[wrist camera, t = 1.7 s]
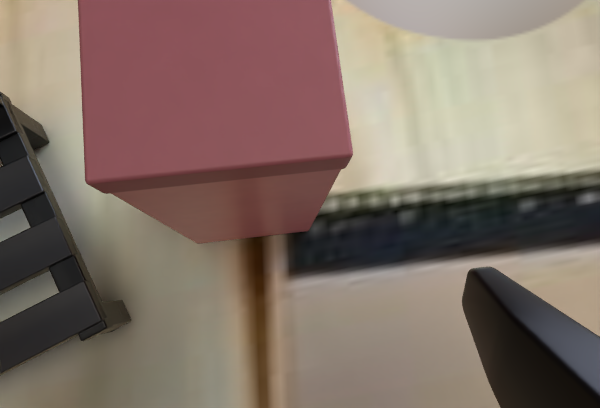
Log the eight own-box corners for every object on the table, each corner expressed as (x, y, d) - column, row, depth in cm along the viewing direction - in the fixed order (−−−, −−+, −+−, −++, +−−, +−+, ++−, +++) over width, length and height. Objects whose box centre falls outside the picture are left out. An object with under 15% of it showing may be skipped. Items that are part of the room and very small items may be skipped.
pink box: (310, 232, 21) (354, 156, 9) (195, 245, 20) (83, 184, 9) (296, 123, 22) (320, -75, 10) (186, 134, 21) (73, -59, 10)
